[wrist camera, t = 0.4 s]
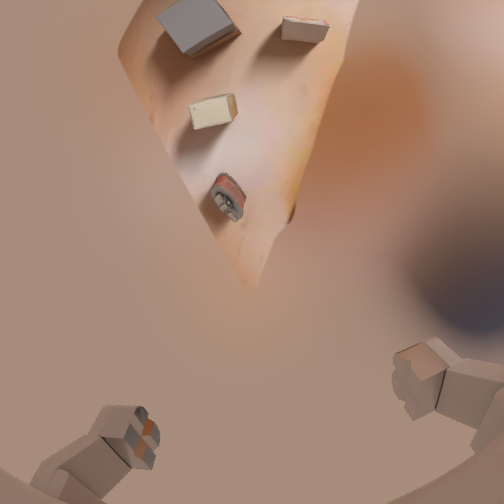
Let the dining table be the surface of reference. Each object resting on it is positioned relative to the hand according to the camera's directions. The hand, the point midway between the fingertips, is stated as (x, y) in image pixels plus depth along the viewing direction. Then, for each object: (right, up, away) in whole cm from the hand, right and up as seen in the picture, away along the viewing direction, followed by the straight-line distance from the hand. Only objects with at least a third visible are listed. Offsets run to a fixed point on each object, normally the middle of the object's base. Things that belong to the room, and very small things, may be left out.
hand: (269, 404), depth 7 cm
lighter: (-5, +18, +49) cm, 53 cm away
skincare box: (-6, +32, +39) cm, 51 cm away
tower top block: (-9, +43, +25) cm, 51 cm away
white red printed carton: (+8, +44, +29) cm, 54 cm away
